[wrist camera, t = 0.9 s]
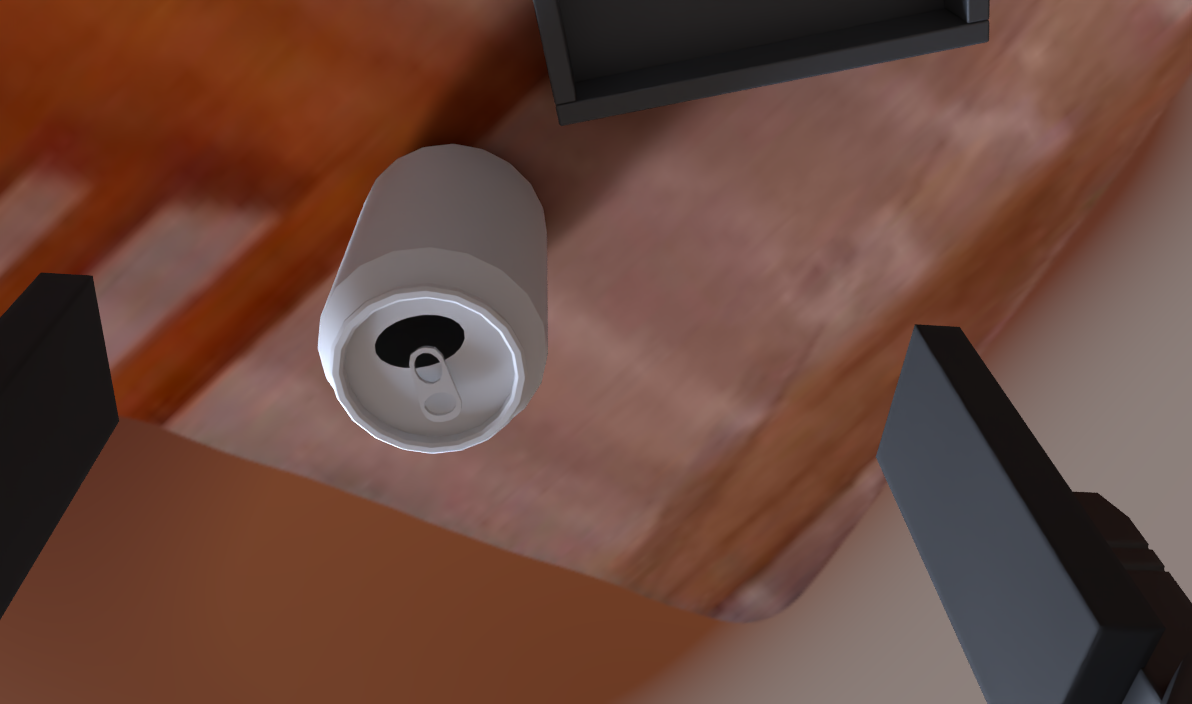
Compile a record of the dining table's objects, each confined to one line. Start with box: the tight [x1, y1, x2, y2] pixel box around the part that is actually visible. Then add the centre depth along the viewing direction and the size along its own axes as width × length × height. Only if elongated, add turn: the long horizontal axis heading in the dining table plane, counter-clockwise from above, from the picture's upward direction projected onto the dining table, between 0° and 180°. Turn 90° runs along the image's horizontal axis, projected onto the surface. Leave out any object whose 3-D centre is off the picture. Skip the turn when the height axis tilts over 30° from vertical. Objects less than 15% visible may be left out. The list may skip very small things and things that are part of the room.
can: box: [318, 144, 548, 454], centre depth 37 cm, size 8×8×12 cm
